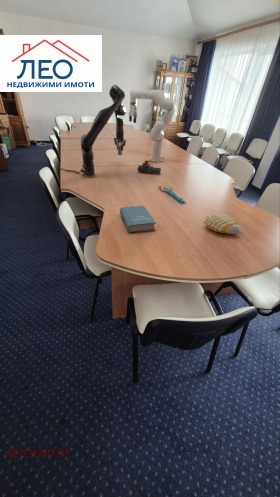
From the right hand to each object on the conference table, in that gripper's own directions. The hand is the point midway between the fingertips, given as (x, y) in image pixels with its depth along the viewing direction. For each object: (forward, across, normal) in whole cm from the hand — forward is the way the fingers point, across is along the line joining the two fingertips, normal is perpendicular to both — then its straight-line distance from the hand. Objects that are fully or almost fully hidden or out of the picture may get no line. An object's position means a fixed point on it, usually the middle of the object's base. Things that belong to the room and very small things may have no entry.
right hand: (132, 122), depth 248 cm
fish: (+35, -176, +33) cm, 182 cm away
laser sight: (+35, -67, +17) cm, 77 cm away
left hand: (+20, -35, +33) cm, 52 cm away
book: (+35, -145, +76) cm, 168 cm away
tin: (+24, -35, +33) cm, 53 cm away
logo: (+35, -119, +28) cm, 127 cm away
